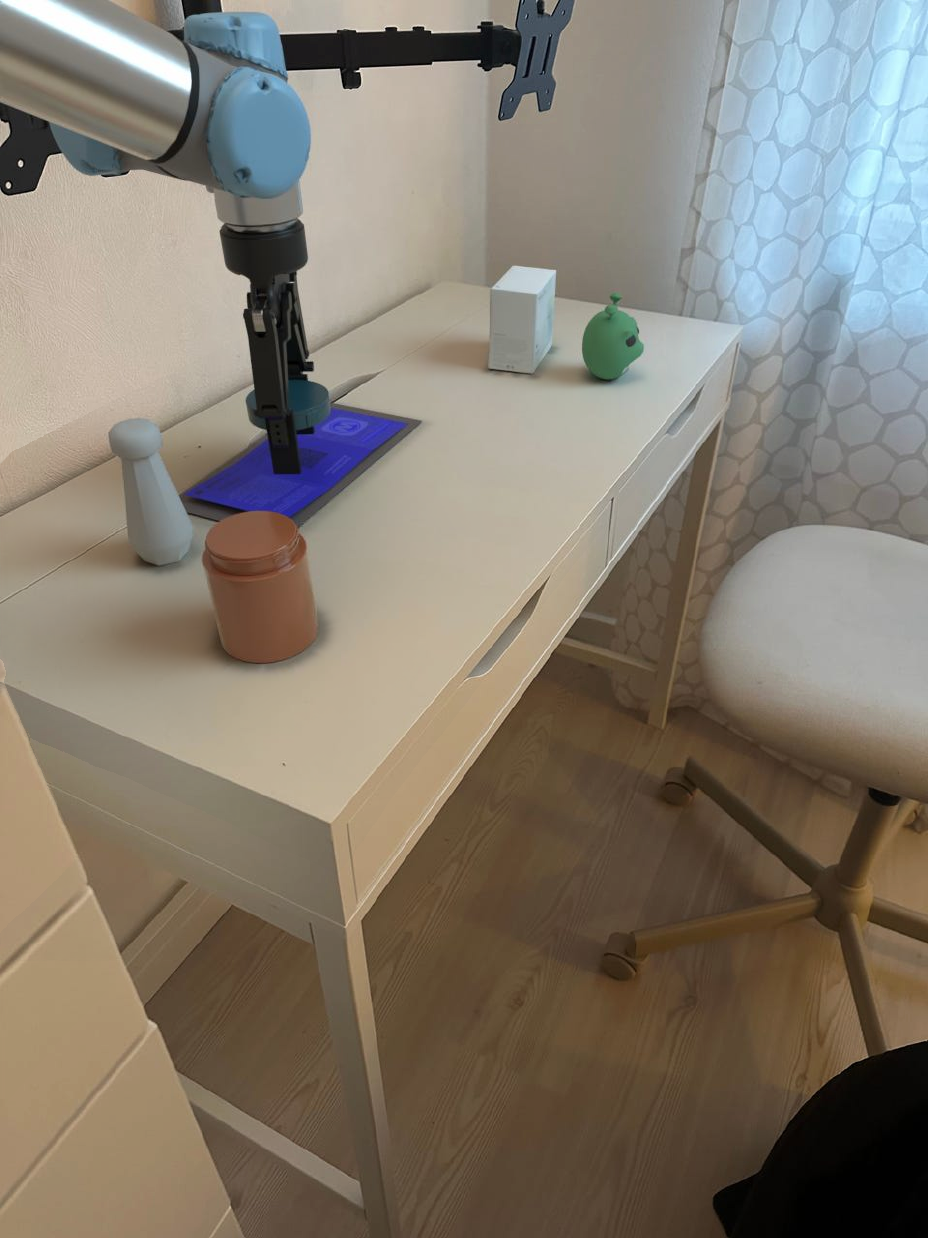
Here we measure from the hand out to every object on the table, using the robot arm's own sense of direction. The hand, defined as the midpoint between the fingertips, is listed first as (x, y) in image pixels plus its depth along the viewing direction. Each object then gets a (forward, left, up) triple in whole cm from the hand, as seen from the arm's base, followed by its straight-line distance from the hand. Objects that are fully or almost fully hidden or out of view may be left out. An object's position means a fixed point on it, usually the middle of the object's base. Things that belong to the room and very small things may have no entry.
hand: (295, 451), depth 93 cm
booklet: (0, +3, -3) cm, 4 cm away
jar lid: (0, 0, +6) cm, 6 cm away
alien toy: (+36, +25, -3) cm, 44 cm away
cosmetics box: (+25, +32, -3) cm, 41 cm away
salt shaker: (-10, -15, -3) cm, 18 cm away
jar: (+2, -27, -3) cm, 27 cm away
